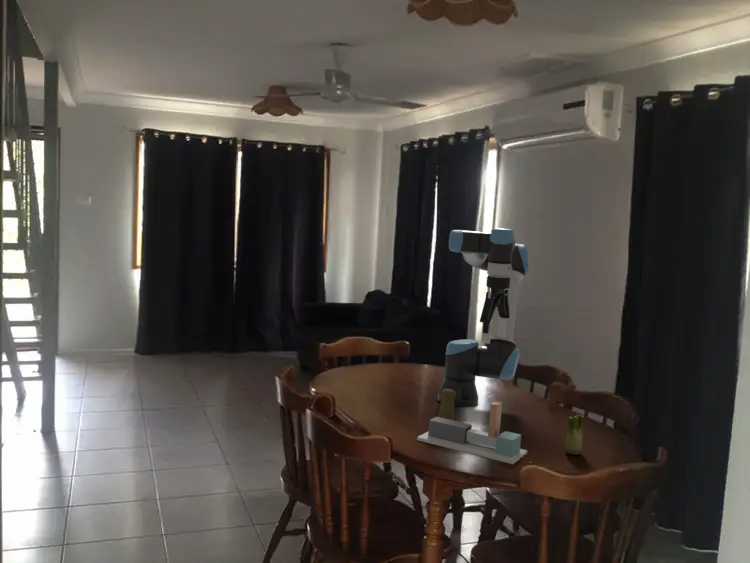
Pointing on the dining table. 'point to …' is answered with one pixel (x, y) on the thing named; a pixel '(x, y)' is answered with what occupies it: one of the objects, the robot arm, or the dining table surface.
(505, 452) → the socket block
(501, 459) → the base board
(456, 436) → the outer sleeve
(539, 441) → the dining table surface
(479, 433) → the inner bar
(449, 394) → the cork
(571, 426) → the fennel bulb
